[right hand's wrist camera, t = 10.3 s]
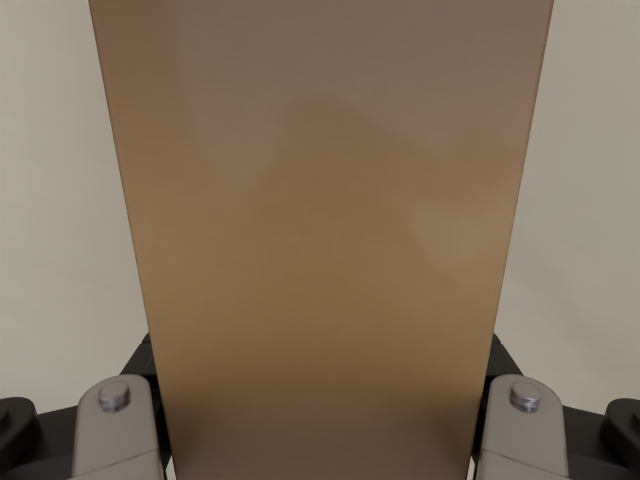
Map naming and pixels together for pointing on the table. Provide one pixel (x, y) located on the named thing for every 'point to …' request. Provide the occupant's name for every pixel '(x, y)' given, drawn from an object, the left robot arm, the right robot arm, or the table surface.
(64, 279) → the table surface
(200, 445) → the box
